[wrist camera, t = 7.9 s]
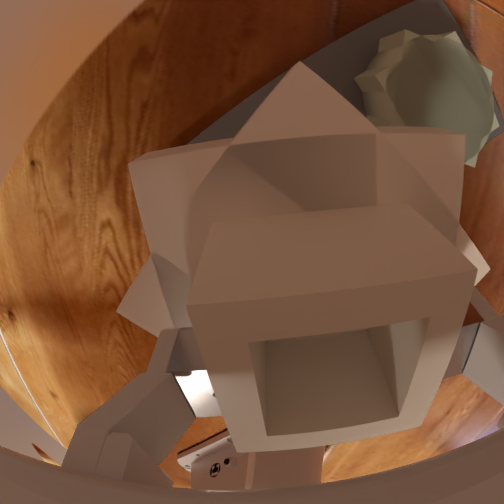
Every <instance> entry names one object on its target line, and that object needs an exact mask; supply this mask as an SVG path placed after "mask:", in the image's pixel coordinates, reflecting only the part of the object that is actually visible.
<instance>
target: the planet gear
mask: <svg viewBox="0 0 504 504" xmlns="http://www.w3.org/2000/svg"><path fill="white" fill-rule="evenodd" d="M464 159H465V135H464V134H461V133H457V132H454V131H450V130H447V129H443V128H440V127H411V126H378V127H375V126H374V125H373V124H372V123H371V122H370V121H369V120H368V119H367V118H366V117H365V116H364V115H363V114H361V113H360V112H359V111H358V110H357V109H356V108H355V107H354V106H353V105H352V104H351V103H350V102H348V101H347V100H346V99H345V98H344V97H343V96H342V95H341V94H339V93H338V92H337V91H336V90H335V89H334V88H333V87H331V86H330V85H329V84H328V83H327V82H325V81H324V80H323V79H322V78H321V77H319V76H318V75H317V74H316V73H315V72H313V71H312V70H311V69H310V68H308V67H307V66H306V65H304V64H303V63H302V62H301V61H299V62H298V63H296V64H295V65H294V66H293V67H292V68H291V69H290V70H289V71H288V73H287V74H286V75H285V76H284V77H283V78H282V80H281V81H280V82H279V83H278V84H277V85H276V87H275V88H274V89H273V90H272V91H271V92H270V94H269V95H268V96H267V97H266V98H265V100H264V101H263V102H262V103H261V104H260V106H259V107H258V108H257V109H256V111H255V112H254V113H253V114H252V115H251V117H250V118H249V119H248V120H247V122H246V123H245V124H244V125H243V127H242V128H241V129H240V131H239V132H238V133H237V134H236V136H235V137H234V138H227V139H220V140H214V141H207V142H201V143H195V144H189V145H184V146H178V147H173V148H168V149H162V150H157V151H153V152H148V153H145V154H143V155H141V156H140V157H138V158H136V159H135V160H133V161H131V162H129V163H128V168H129V173H130V177H131V181H132V186H133V190H134V194H135V198H136V202H137V206H138V210H139V214H140V217H141V221H142V225H143V229H144V232H145V236H146V239H147V243H148V246H149V250H150V253H151V254H150V256H149V257H148V259H147V261H146V262H145V264H144V265H143V267H142V268H141V270H140V271H139V273H138V275H137V276H136V278H135V279H134V281H133V283H132V284H131V286H130V288H129V289H128V291H127V293H126V294H125V296H124V298H123V300H122V302H121V303H120V305H119V307H118V309H117V310H116V312H117V313H119V314H120V315H122V316H124V317H125V318H127V319H128V320H130V321H132V322H133V323H135V324H136V325H138V326H140V327H141V328H143V329H145V330H146V331H148V332H150V333H151V334H153V335H155V336H156V337H159V334H160V332H161V331H162V330H163V329H170V328H183V327H192V328H193V331H194V334H195V337H196V340H197V344H198V347H199V350H200V353H201V356H202V359H203V362H204V365H205V368H206V371H207V374H208V376H209V379H210V382H211V385H212V388H213V391H214V394H215V396H216V399H217V402H218V405H219V407H220V410H221V413H222V415H223V418H224V421H225V423H226V426H227V429H228V431H229V434H230V436H231V439H232V441H233V444H234V446H235V449H236V451H237V452H264V451H279V450H291V449H301V448H310V447H318V446H326V445H333V444H339V443H345V442H351V441H357V440H362V439H367V438H372V437H377V436H382V435H386V434H391V433H395V432H399V431H403V430H407V429H411V428H414V427H418V426H421V424H422V422H423V420H424V418H425V416H426V414H427V412H428V410H429V408H430V406H431V404H432V402H433V399H434V397H435V395H436V393H437V391H438V388H439V386H440V384H441V381H442V379H443V377H444V374H445V372H446V369H447V367H448V364H449V362H450V359H451V356H452V354H453V351H454V348H455V346H456V343H457V340H458V337H459V334H460V331H461V328H462V325H463V322H464V319H465V316H466V312H467V309H468V306H469V302H470V299H471V295H472V291H473V288H474V286H475V285H476V284H477V283H478V282H479V281H480V280H481V279H482V278H483V277H484V276H485V275H486V274H487V272H488V271H489V270H490V267H489V266H488V264H487V263H486V261H485V260H484V258H483V257H482V255H481V254H480V252H479V251H478V249H477V248H476V246H475V245H474V243H473V242H472V240H471V239H470V238H469V236H468V235H467V233H466V232H465V231H464V229H463V228H462V226H461V225H460V224H459V219H460V210H461V201H462V190H463V177H464Z"/></svg>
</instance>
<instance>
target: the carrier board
mask: <svg viewBox="0 0 504 504" xmlns="http://www.w3.org/2000/svg"><path fill="white" fill-rule="evenodd" d="M301 62H302V63H303V64H304V65H306V66H307V67H308V68H310V69H311V70H312V71H313V72H315V73H316V74H317V75H318V76H319V77H321V78H322V79H323V80H324V81H325V82H327V83H328V84H329V85H330V86H331V87H333V88H334V89H335V90H336V91H337V92H338V93H339V94H341V95H342V96H343V97H344V98H345V99H346V100H347V101H348V102H350V103H351V104H352V105H353V106H354V107H355V108H356V109H357V110H358V111H359V112H360V113H361V114H363V115H364V116H365V117H366V118H367V119H368V120H369V121H370V122H371V123H372V124H373V125H374V126H375V127H378V126H411V127H440V128H443V129H447V130H450V131H454V132H457V133H461V134H464V135H465V159H464V164H466V165H469V166H471V167H474V168H475V165H476V161H477V157H478V153H479V151H480V150H481V149H482V147H483V146H484V145H485V144H487V143H488V142H489V141H491V140H492V139H493V138H495V137H496V136H497V135H499V134H500V133H501V132H503V131H504V121H503V118H502V115H501V113H500V110H499V108H498V105H497V102H496V100H495V97H494V95H493V93H492V89H491V81H492V73H493V72H492V71H491V70H489V69H487V68H485V67H484V66H482V65H481V64H480V63H479V61H478V60H477V58H476V56H475V54H474V52H473V50H472V48H471V46H470V44H469V43H468V41H467V39H466V37H465V35H464V34H463V32H462V30H461V28H460V27H459V25H458V23H457V22H456V20H455V18H454V17H453V15H452V14H451V12H450V10H449V9H448V7H447V6H446V4H445V3H444V1H443V0H415V1H412V2H410V3H408V4H406V5H403V6H401V7H399V8H397V9H395V10H393V11H391V12H389V13H387V14H385V15H382V16H380V17H378V18H376V19H375V20H373V21H371V22H369V23H367V24H365V25H363V26H361V27H359V28H357V29H355V30H354V31H352V32H350V33H348V34H346V35H345V36H343V37H341V38H339V39H337V40H336V41H334V42H332V43H330V44H329V45H327V46H325V47H324V48H322V49H320V50H319V51H317V52H315V53H314V54H312V55H310V56H309V57H307V58H306V59H304V60H302V61H301ZM291 68H292V67H291ZM291 68H290V69H291ZM290 69H288V70H287V71H285V72H284V73H282V74H281V75H279V76H278V77H276V78H275V79H273V80H272V81H270V82H269V83H267V84H266V85H264V86H263V87H261V88H260V89H259V90H257V91H256V92H254V93H253V94H251V95H250V96H249V97H247V98H246V99H245V100H243V101H242V102H240V103H239V104H238V105H236V106H235V107H234V108H232V109H231V110H230V111H228V112H227V113H226V114H224V115H223V116H222V117H220V118H219V119H218V120H216V121H215V122H214V123H213V124H211V125H210V126H209V127H207V128H206V129H205V130H204V131H202V132H201V133H200V134H199V135H197V136H196V137H195V138H194V139H192V140H191V141H190V142H189V143H188V144H186V145H189V144H195V143H201V142H207V141H214V140H220V139H227V138H234V137H235V136H236V134H237V133H238V132H239V131H240V129H241V128H242V127H243V125H244V124H245V123H246V122H247V120H248V119H249V118H250V117H251V115H252V114H253V113H254V112H255V111H256V109H257V108H258V107H259V106H260V104H261V103H262V102H263V101H264V100H265V98H266V97H267V96H268V95H269V94H270V92H271V91H272V90H273V89H274V88H275V87H276V85H277V84H278V83H279V82H280V81H281V80H282V78H283V77H284V76H285V75H286V74H287V73H288V71H289V70H290Z"/></svg>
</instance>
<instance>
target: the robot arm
mask: <svg viewBox="0 0 504 504" xmlns="http://www.w3.org/2000/svg"><path fill="white" fill-rule="evenodd" d="M461 373H463V374H462V375H463V376H465V377H466V378H467V379H469V380H470V381H471V382H473V383H474V384H475V385H477V386H478V387H479V388H481V389H482V390H484V391H485V392H486V393H488V394H489V395H490V396H492V397H493V398H494V399H496V400H497V401H498V402H500V403H501V404H502V405H504V315H502V316H499V315H498V313H497V312H496V311H495V310H494V309H493V307H492V306H491V305H490V304H489V303H488V301H487V300H486V299H485V298H484V297H483V296H482V294H481V293H480V292H479V291H478V290H477V289H476V287H475V286H474V288H473V291H472V295H471V299H470V302H469V306H468V309H467V312H466V316H465V319H464V322H463V325H462V328H461V331H460V334H459V337H458V340H457V343H456V346H455V348H454V351H453V354H452V356H451V359H450V362H449V364H448V367H447V369H446V372H445V374H444V377H443V379H444V378H448V377H451V376H455V375H458V374H461ZM211 416H223V415H222V413H221V410H220V407H219V405H218V402H217V399H216V396H215V394H214V391H213V388H212V385H211V382H210V379H209V376H208V374H207V371H206V368H205V365H204V362H203V359H202V356H201V353H200V350H199V347H198V344H197V340H196V337H195V334H194V331H193V328H192V327H183V328H170V329H163V330H162V331H161V332H160V334H159V337H158V340H157V342H156V345H155V348H154V351H153V354H152V356H151V359H150V362H149V365H148V368H147V371H146V373H140V374H139V375H138V376H137V377H135V378H134V379H133V380H132V381H131V382H129V383H128V384H127V385H126V386H125V387H123V388H122V389H121V390H120V391H119V392H117V393H116V394H115V395H114V396H113V397H111V398H110V399H109V400H108V401H107V402H105V403H104V404H103V405H102V406H101V407H99V408H98V409H97V410H96V411H94V412H93V413H92V414H91V415H90V416H88V417H87V418H86V419H85V420H83V421H82V422H81V423H80V424H79V425H77V428H76V430H75V432H74V435H73V437H72V440H71V442H70V445H69V447H68V450H67V453H66V455H65V458H64V460H63V463H62V466H61V467H60V466H57V465H53V464H50V463H47V462H44V461H40V460H37V459H34V458H31V457H29V456H26V455H23V454H20V453H18V452H15V451H12V450H10V449H7V448H5V447H2V446H0V504H504V414H503V416H502V417H501V419H500V420H499V422H498V425H497V426H498V428H499V430H498V431H496V432H494V433H492V434H490V435H487V436H485V437H483V438H481V439H478V440H476V441H474V442H471V443H469V444H466V445H464V446H462V447H459V448H456V449H454V450H451V451H448V452H446V453H443V454H440V455H437V456H434V457H431V458H428V459H425V460H422V461H419V462H416V463H412V464H409V465H406V466H402V467H398V468H395V469H391V470H387V471H383V472H379V473H374V474H370V475H366V476H361V477H356V478H351V479H345V480H340V481H334V482H327V483H321V473H322V463H323V457H324V452H325V447H326V446H318V447H310V448H301V449H291V450H279V451H264V452H237V451H236V449H235V446H234V444H233V441H232V439H231V436H230V434H229V431H228V430H227V431H225V432H223V433H221V434H219V435H217V436H215V437H213V438H211V439H209V440H207V441H205V442H203V443H201V444H199V445H197V446H195V447H193V448H191V449H189V450H186V451H184V452H182V453H180V454H178V455H177V461H178V463H179V464H180V465H181V466H182V467H183V468H185V469H186V470H187V471H189V472H191V488H192V489H188V488H175V487H173V481H172V480H171V478H170V477H169V476H168V475H167V474H166V473H165V472H164V471H163V470H162V469H161V468H160V467H159V466H158V465H159V464H160V463H161V462H162V461H163V459H164V458H165V457H166V456H167V454H168V453H169V452H170V451H171V450H172V448H173V447H174V446H175V445H176V443H177V442H178V441H179V440H180V438H181V437H182V436H183V435H184V433H185V432H186V431H187V430H188V428H189V427H190V426H191V425H192V423H193V422H194V421H195V420H196V418H195V417H211Z"/></svg>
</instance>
